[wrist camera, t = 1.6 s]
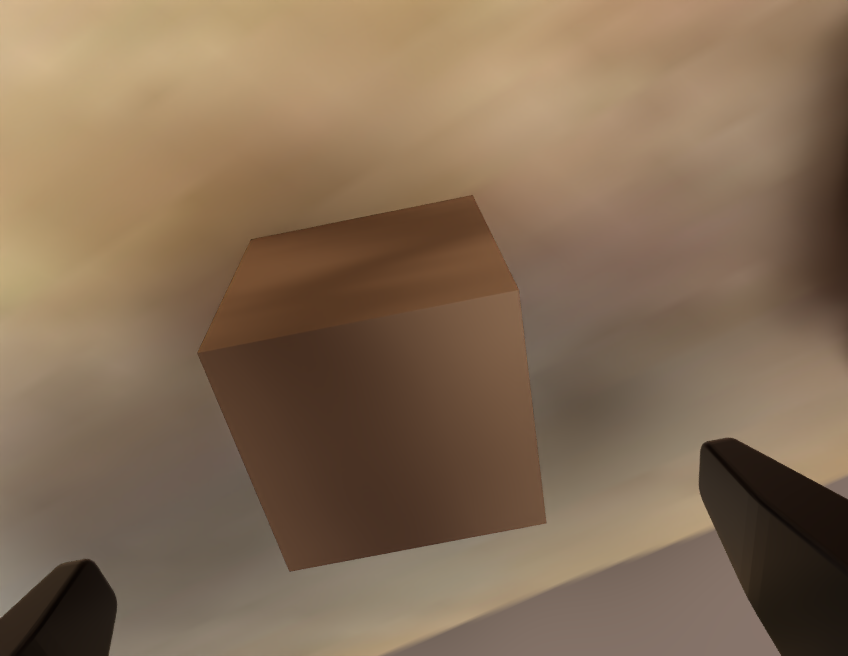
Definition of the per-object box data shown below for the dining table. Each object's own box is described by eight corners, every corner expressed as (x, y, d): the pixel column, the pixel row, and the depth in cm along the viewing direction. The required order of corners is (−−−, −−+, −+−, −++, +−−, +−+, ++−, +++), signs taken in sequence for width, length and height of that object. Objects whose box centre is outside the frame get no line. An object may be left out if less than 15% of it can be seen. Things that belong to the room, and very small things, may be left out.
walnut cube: (471, 193, 14) (519, 289, 9) (499, 378, 16) (546, 523, 12) (251, 238, 14) (197, 352, 10) (311, 415, 16) (289, 571, 12)
